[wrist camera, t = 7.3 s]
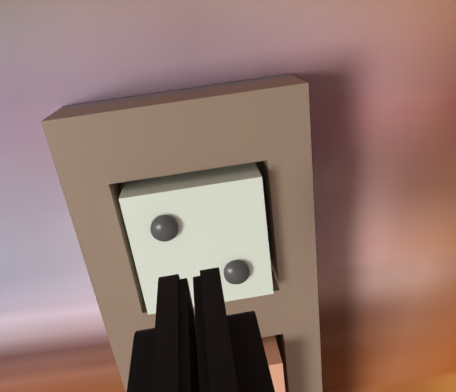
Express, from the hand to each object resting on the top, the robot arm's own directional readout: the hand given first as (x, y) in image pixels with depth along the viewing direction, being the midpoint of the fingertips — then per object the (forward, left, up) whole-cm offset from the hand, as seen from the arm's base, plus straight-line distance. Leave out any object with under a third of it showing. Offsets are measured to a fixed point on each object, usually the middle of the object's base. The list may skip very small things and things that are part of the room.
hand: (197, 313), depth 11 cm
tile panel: (+10, 0, -9) cm, 14 cm away
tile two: (+1, 0, -8) cm, 8 cm away
